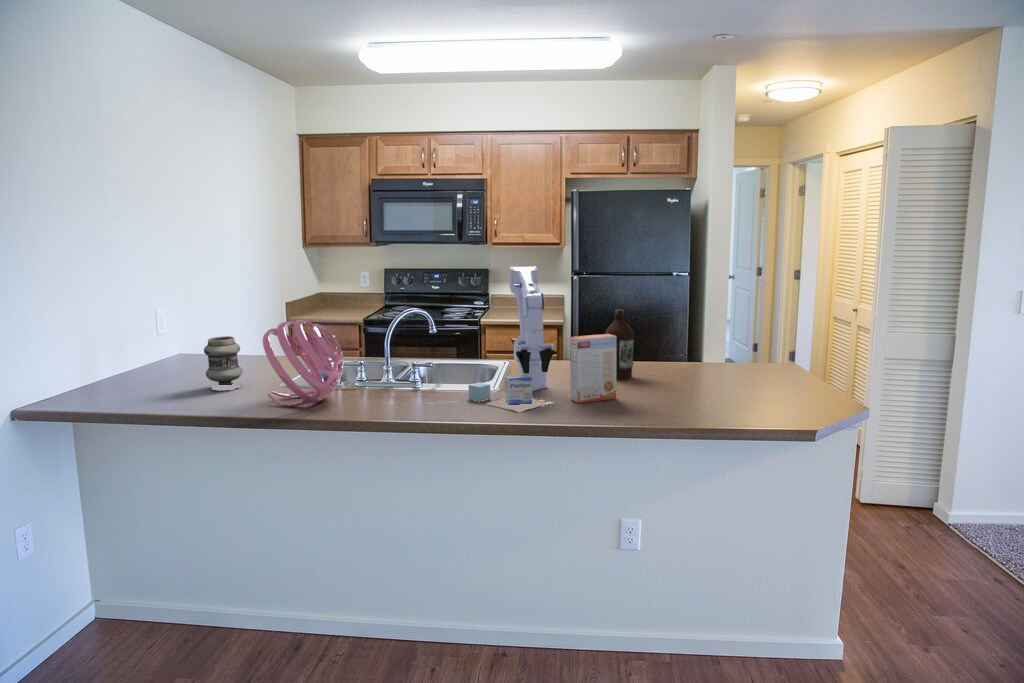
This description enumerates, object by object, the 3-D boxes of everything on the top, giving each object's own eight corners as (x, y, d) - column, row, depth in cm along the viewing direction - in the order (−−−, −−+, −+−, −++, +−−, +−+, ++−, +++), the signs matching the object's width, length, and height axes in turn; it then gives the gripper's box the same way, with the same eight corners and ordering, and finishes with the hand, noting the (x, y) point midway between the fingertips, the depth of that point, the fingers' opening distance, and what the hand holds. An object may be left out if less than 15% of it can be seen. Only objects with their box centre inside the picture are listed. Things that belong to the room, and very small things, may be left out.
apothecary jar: (199, 391, 247) (194, 339, 244) (223, 383, 259) (219, 334, 256) (227, 393, 244) (223, 341, 241) (251, 385, 255) (247, 336, 252)
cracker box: (607, 395, 236) (608, 333, 232) (616, 399, 230) (617, 335, 226) (569, 399, 231) (569, 335, 227) (577, 404, 225) (578, 338, 222)
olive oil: (598, 376, 263) (598, 309, 259) (618, 373, 270) (619, 307, 265) (618, 382, 255) (619, 312, 251) (639, 378, 261) (640, 310, 257)
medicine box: (508, 405, 223) (508, 378, 222) (504, 402, 227) (504, 375, 226) (532, 403, 225) (532, 377, 224) (528, 400, 229) (528, 374, 228)
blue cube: (480, 397, 236) (479, 382, 235) (490, 399, 232) (490, 384, 231) (468, 399, 232) (468, 384, 231) (479, 402, 229) (478, 387, 228)
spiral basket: (219, 348, 218) (291, 298, 216) (263, 353, 245) (327, 309, 244) (265, 425, 214) (338, 374, 212) (305, 422, 242) (370, 377, 240)
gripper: (523, 331, 222) (525, 374, 223) (559, 330, 231) (560, 371, 231) (510, 331, 228) (511, 373, 228) (546, 330, 237) (547, 371, 237)
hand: (535, 372), depth 230 cm, fingers open, 7 cm apart
